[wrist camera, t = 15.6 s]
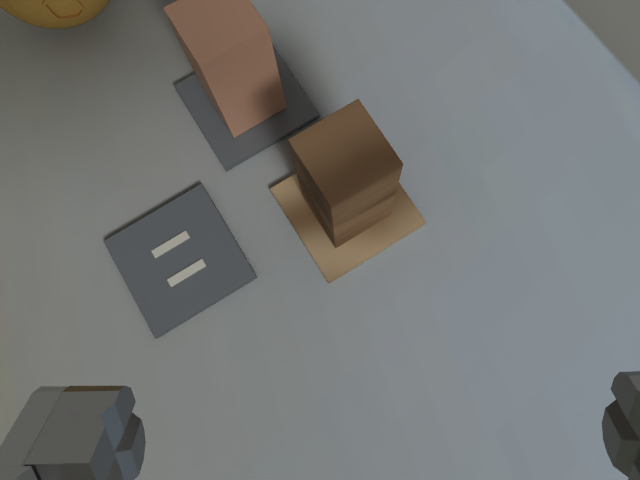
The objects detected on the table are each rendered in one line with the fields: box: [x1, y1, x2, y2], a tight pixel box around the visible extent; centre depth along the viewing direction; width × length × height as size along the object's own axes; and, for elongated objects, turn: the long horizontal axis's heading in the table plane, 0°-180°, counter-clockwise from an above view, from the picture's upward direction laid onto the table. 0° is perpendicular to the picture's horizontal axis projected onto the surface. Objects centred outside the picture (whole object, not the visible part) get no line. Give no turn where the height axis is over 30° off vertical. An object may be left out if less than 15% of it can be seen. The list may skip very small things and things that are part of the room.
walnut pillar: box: [288, 99, 403, 248], centre depth 36 cm, size 4×4×10 cm
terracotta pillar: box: [163, 0, 287, 138], centre depth 38 cm, size 4×4×10 cm
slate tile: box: [174, 45, 320, 172], centre depth 43 cm, size 8×8×1 cm
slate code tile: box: [104, 184, 257, 338], centre depth 41 cm, size 8×8×1 cm
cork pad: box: [270, 173, 426, 283], centre depth 41 cm, size 8×8×1 cm
